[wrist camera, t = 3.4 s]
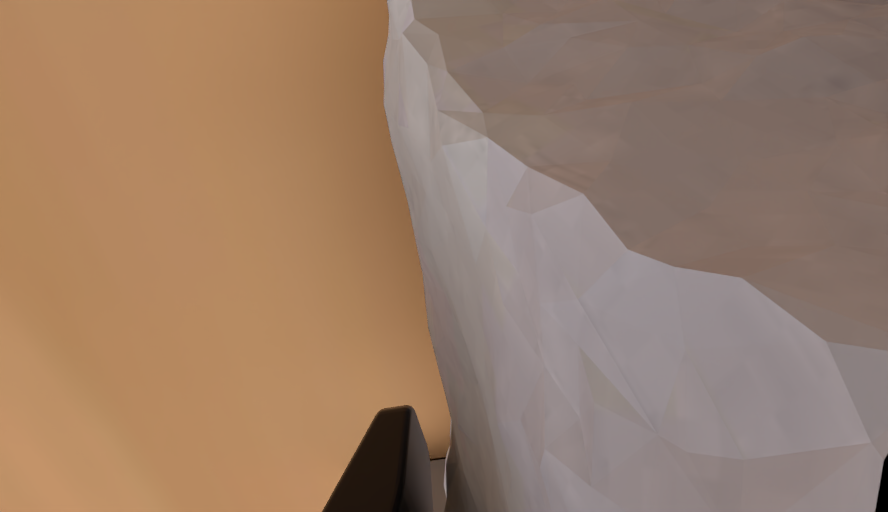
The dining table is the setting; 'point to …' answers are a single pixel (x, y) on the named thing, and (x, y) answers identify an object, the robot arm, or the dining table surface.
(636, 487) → the stone block
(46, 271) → the dining table surface
